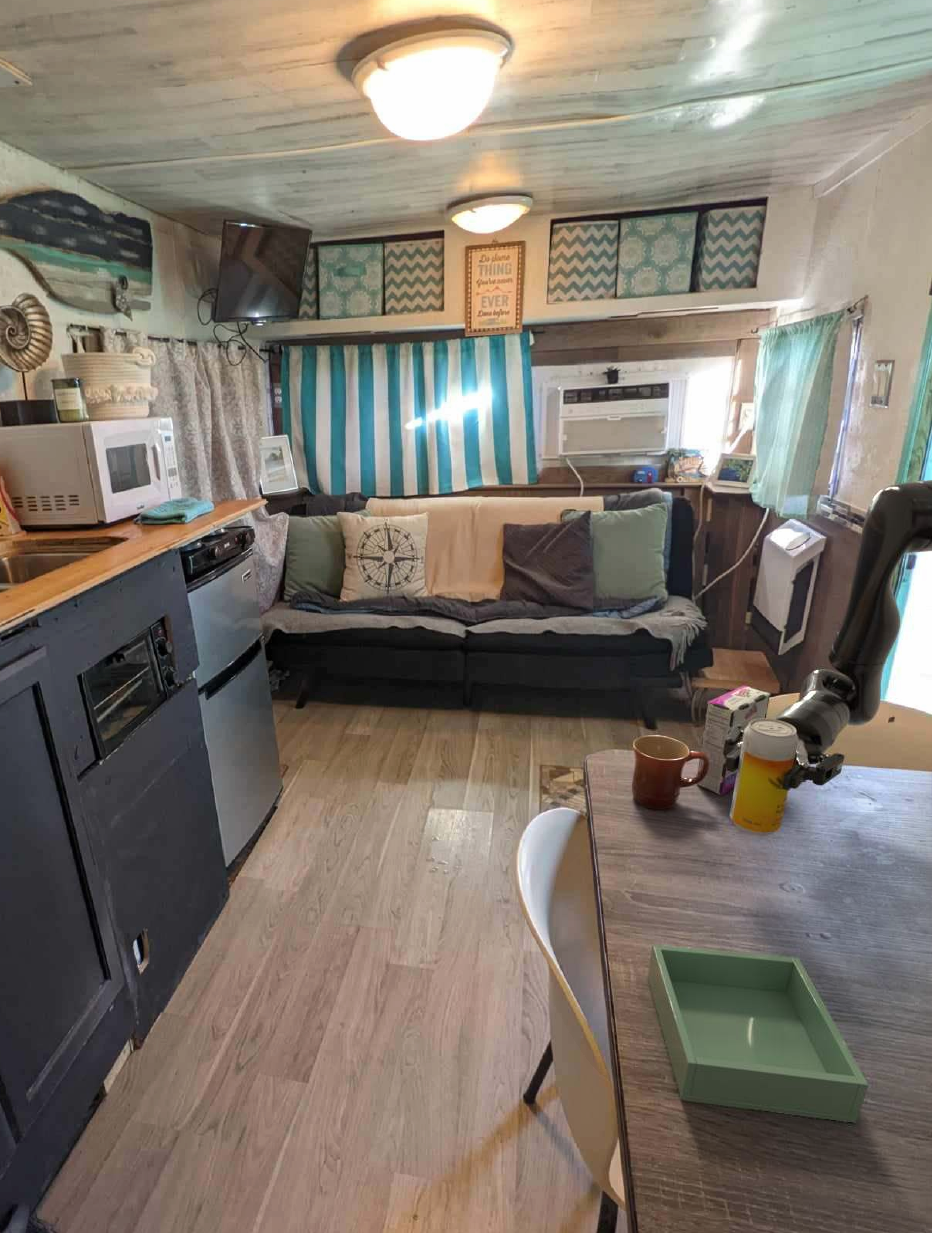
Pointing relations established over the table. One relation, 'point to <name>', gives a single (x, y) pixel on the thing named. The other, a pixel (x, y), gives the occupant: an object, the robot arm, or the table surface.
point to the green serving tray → (752, 1034)
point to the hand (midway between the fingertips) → (758, 774)
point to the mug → (662, 770)
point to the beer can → (763, 775)
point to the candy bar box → (727, 732)
